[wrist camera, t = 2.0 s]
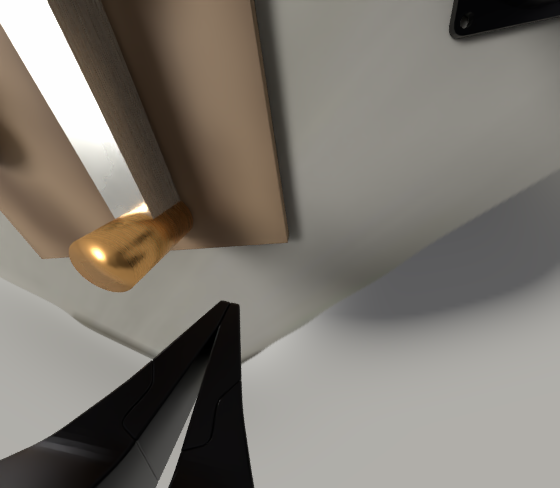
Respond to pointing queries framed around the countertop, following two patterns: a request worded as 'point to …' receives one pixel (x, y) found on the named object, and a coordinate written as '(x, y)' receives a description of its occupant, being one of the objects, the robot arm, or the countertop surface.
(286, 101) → the countertop surface
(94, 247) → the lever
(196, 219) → the board
